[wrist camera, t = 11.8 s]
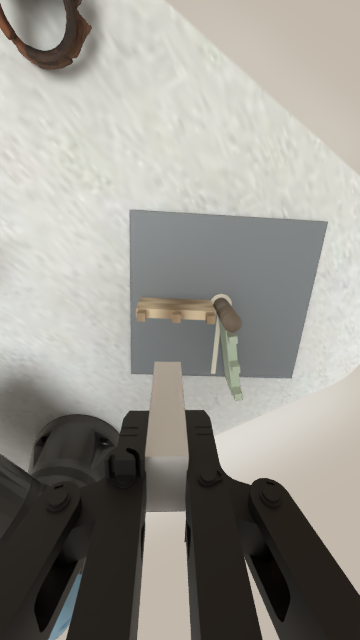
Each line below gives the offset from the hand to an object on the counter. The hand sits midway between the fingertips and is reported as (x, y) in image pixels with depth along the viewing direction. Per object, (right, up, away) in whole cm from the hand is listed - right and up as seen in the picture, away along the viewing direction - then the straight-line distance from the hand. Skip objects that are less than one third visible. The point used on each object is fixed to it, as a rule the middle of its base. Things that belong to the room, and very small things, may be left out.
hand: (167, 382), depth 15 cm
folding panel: (+8, 0, +24) cm, 26 cm away
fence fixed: (+1, +6, +22) cm, 23 cm away
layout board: (+7, +6, +23) cm, 25 cm away
